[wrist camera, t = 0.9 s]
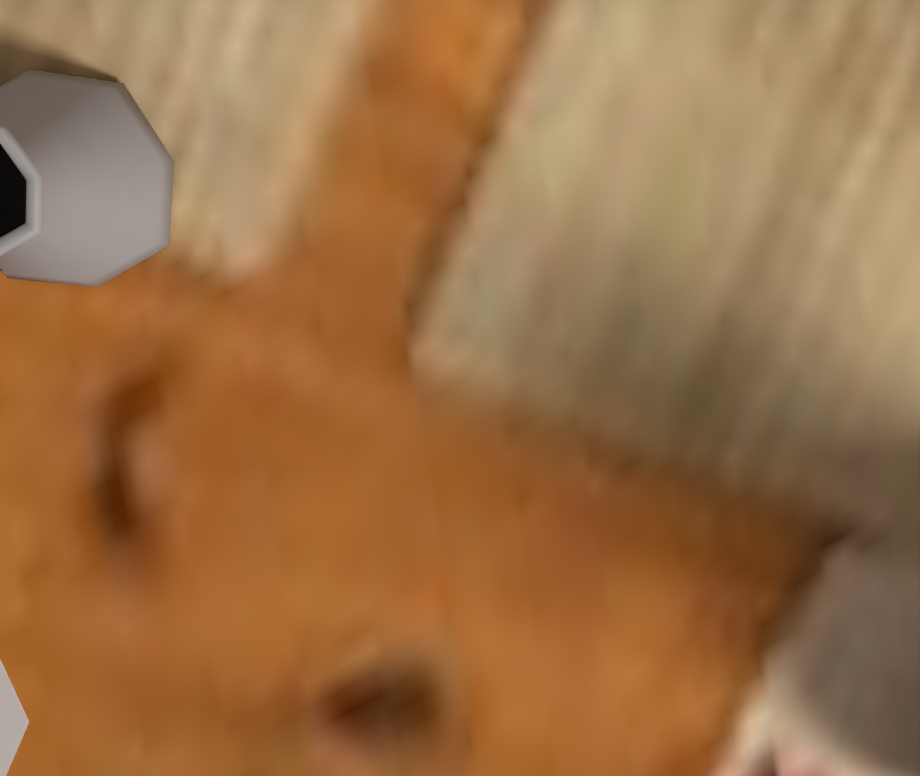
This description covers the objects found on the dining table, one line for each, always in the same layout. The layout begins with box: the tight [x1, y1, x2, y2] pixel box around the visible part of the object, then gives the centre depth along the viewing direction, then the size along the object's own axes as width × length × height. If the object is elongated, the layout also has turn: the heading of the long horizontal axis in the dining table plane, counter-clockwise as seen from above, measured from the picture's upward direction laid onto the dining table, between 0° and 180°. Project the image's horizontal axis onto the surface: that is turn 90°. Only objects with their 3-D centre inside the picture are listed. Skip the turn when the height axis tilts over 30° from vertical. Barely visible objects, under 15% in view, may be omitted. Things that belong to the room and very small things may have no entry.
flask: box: [0, 69, 174, 287], centre depth 24 cm, size 7×7×10 cm
